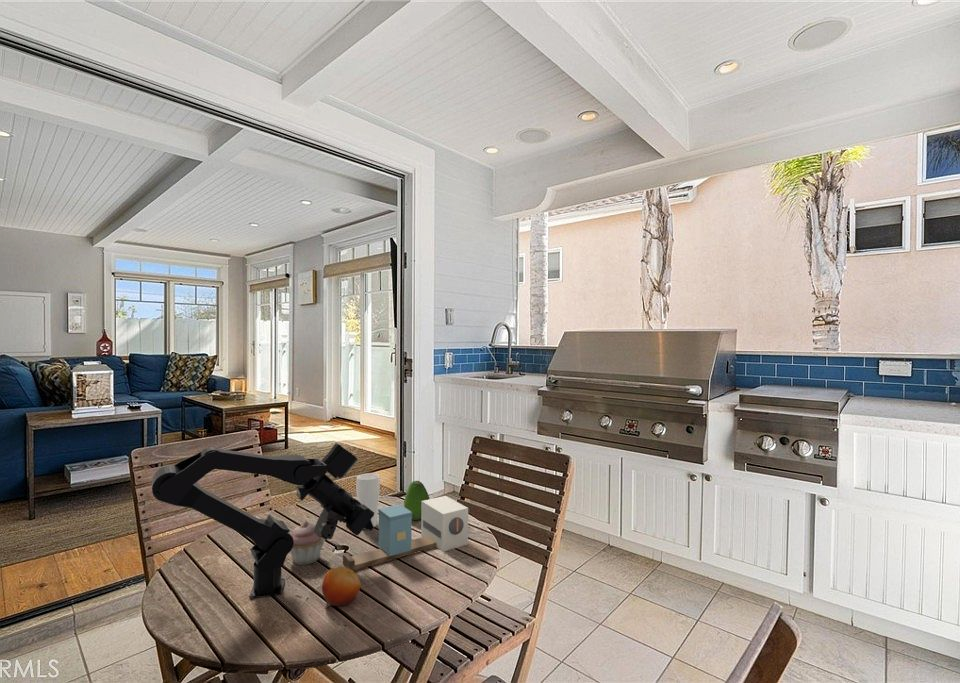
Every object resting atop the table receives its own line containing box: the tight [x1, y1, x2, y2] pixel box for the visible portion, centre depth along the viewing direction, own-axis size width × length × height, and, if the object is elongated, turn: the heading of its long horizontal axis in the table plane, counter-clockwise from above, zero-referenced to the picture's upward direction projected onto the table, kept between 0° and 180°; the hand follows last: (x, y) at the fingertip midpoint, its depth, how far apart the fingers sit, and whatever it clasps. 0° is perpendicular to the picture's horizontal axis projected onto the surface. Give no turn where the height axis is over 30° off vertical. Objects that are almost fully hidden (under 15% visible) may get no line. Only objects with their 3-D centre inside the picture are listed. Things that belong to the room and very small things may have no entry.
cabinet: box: [420, 495, 469, 553], centre depth 133 cm, size 8×13×10 cm, turn 35°
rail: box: [342, 536, 437, 571], centre depth 124 cm, size 24×5×2 cm, turn 125°
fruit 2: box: [403, 480, 431, 521], centre depth 149 cm, size 8×8×12 cm
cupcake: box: [289, 520, 326, 566], centre depth 121 cm, size 9×9×10 cm
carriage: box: [377, 503, 412, 556], centre depth 125 cm, size 6×7×10 cm
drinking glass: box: [355, 472, 381, 530], centre depth 143 cm, size 7×7×15 cm
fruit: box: [321, 566, 362, 610], centre depth 102 cm, size 8×8×8 cm
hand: (371, 528), depth 121 cm, fingers closed
